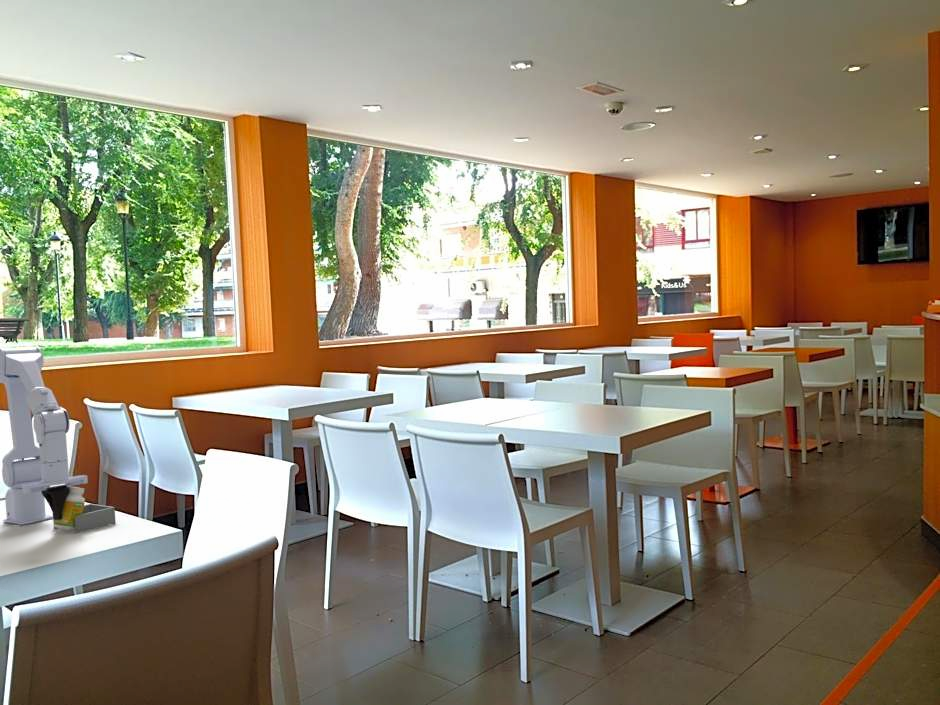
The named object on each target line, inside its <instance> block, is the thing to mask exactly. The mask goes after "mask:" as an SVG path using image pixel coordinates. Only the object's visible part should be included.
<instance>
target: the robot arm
mask: <svg viewBox="0 0 940 705" xmlns="http://www.w3.org/2000/svg"><path fill="white" fill-rule="evenodd" d="M44 362H45V361H44V353H43V351H42V349H41V348H40V346H38V345H35V346H28V347H27V346H25V347H24V346H23V347H6V348H3V347H0V383H1V384H3V385H4V387H5V391H6V400H7V407H8V414H9V421H10V431H11V437H12V447H13V448H12V449H11V450H10V451H8V453H7V454H5V455H4V457H3V458H2V462H1V463H2V469H1V475H2V476H1V477H2V480H3V483H4V485H5V486H6V487H8V488H9V489H7V491H6V493H5V496H4V497H5V513H6V514H5V515H6V518H5V519H2V521H3V522H4V523H10V524H14V525H20V526H24V525H29V524H33V523H36V522H41V521H47V520H49V519H54V520H61V519H62V511H63V507H64V503H65V501H66V498H67V496H68V494H69V492H70V488H67V486H71V487H73V486H76V485H85V484H89V483H88V475H85V474H82V475H73V476H70V475H69V474H70V473H69V457H68V447H67V446H68V445H67V444H68V443H67V433H68V432H69V431H70V430H69V429H70V416H69V414H68V410H66V409H65V408H63V407H62V406H59V404H58V401H57V399H56V397H55V394H54V393H53V390H52V389H50V388H49V387H46V386H45V383H44V380H43V376H42V374H41V372H42V369H43V366H44ZM31 414H32V415H33V420H32V415H31ZM33 429H34V430H33ZM34 433H35V436H36V437H35V436H34ZM35 438H36V443H37V444H38V446H36V445H35V444H36V443H35ZM29 458H30V459H29ZM23 459H24V460H23ZM15 460H16V461H15ZM45 501H46V502H47V503H48V505H49V508H50V510H51V512H52V515H51V514H50V515H48V514H46V503H45Z"/></svg>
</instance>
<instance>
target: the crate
mask: <svg viewBox="0 0 940 705" xmlns="http://www.w3.org/2000/svg"><path fill="white" fill-rule="evenodd" d="M115 508H116V507H115V506H110V505H109V506H108V505H104V504H103V505H102V504H96V503H95V504H94V503H89V504H88V503H87V504H84V507H83V511H82V514H81V515H77V516H74V517H75V530H74V532H75V534H79V533H83V532H86V531H90V530H95V529H99V528H103V527H107V526H110V525H114V524H116V509H115ZM52 519H53V518H52ZM52 522H53V524H54V522H55V520H54V519H53V521H52ZM57 529H59V528H56V527H54V526H53V530H57Z"/></svg>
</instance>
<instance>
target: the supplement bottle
mask: <svg viewBox="0 0 940 705" xmlns="http://www.w3.org/2000/svg"><path fill="white" fill-rule="evenodd" d="M67 488H70V492H69V494H68V496H67V498H66V501H65V503H64V507H63V511H62V519H61V520H55V522H54V523H53V528H54V527H56V528H58V529H65V530H74V531H75V517H74V516H77V515H81V514H82V511H83V507H84V505H85V501H86V499H85V498H84V497H83V495H84V492H85V488H82V487H77V486H67Z"/></svg>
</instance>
